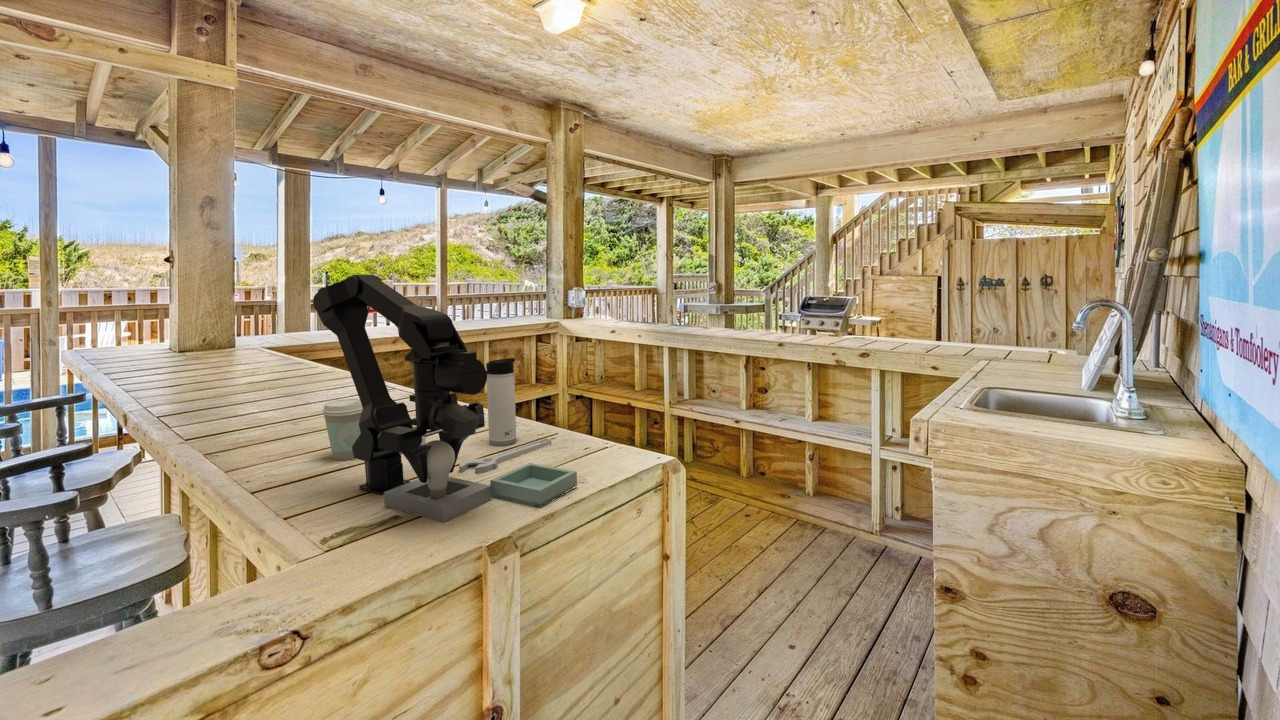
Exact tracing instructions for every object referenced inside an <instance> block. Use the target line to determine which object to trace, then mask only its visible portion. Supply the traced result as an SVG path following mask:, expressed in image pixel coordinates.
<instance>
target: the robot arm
mask: <svg viewBox="0 0 1280 720" xmlns="http://www.w3.org/2000/svg"><path fill="white" fill-rule="evenodd" d="M312 304H313V308H314V310H315V311H316V313H317V315H318V317H319V319H320V322H321V323H322V325H323V326H324V327H326V328H327V329H328V330H329V331H330V332H332V333H333V335H335V336H336V337H337V340H338V342H339V345H340V348H341V351H342V354H343V356H344V357H343V358H344V360H345V363H346V364H347V367H348V370H349V371H348V372H350V375H351V378H352V381H353V384H354V387H355V390H356V393H357V395H358V399H360V401H361V404H362V407H363V409H362V413H361V417H360V421H359V428H360V432H361V434H360V435H359V437H358V438H357V440H356V441H355V443H354V445H353V446H352V451H353V455H354V458H355V460H360V461H363V462H364V472H365V483H363V484H360V485H359V486H358V489H360V490H362V491H368V492H371V493H376V494H379V495H384V492H386V491H388V490H391V489H394V488H396V487H399V486H401V485H404V484H407V483H409V482H411V481H410V480H408V479H404V465H403V464H404V463H403V462H402V455H403V456H404V457H405V458H406V460H407V461H408V463H409V464H410V467H411V468H412V470H413V471H414V473H415V475H416V477H417V478H418V479H419V480H420V482H422V483H426V482H427V453H428V451H429V450H430V448H431V447H432V446H430V445H426V443H427V442H426V438H428V437H431V436H434V435H437V434H438V436H439V440H441V441H444V442H446V443H448V444H449V445H450V446H451V447H452V448H453V450H454V453H455V461H454V464H453V467H452V469H451V471H450V473H453V472H454V471H455V470H454V469H455V466H456V463H457V460H458V457H459V453H460V450H461V447H462V445H463V442H464V441H465V440H466V439H468V438H469V436H472V435H474V434H475V433H476V430H479V429H481V428H485V426H486V424H485V422H486V421H485V410H484V405H483V404H482V403H480V401H479V402H478V401H475V402H472V403H469V404H468V405H467V404H464V405H461V404H459V402H458V396H457V394H464V395H470V396H474V395H475V396H476V395H477V394H479V393H481V392H482V391H483V389H484V388H485V386H486V385H487V369H486V368H485V365H484V364H483V362H482V361H480V360H478V359H477V352H476V351H468V350H467V347H466V345H465V342H464V340H462V338H461V336H460V334H459V333H458V331H457V329H456V327H455V326H454V323H453V320H452V319H451V318H452V317H450V316H449V314H447V313H444V312H442V311H440V310H439V311H438V310H437V309H433V308H429V307H424V306H419V305H418V304H416V303H415V302H413V301H411V300H410V299H408V298H407V297H406V296H404V295H402V294H401V293H400V292H398V291H397V290H396V289H394V288H393V287H391V286H389V285H388V284H387V283H385V282H384V281H382V279H381V278H380V276H378V275H376V274H372V273H371V274H369V273H368V274H352V275H350V276H348V277H346V278H345V279H344V280H340V281H338V282H335V283H331V284H329V285H327V286H322V287H321V288H319V289H318V291H317V292H316V293H315V295H314V296H313V300H312ZM369 307H370V308H371V309H373V310H374V311H375V312H377V313H378V314H380V315H381V316H382V317H384V318H385V319H386V320H388V321H389V322H390V323H392V324H393V325H395V327H396V328H397V333H398V337H399V338H400V339H401V340H402V341H403V342H404V343H405V344H406V345H407V346H408V348H410V349H411V350H410V351H409V352H408V353H407V354H406V355H405V356H404V360H405V361H406V362H412V369H413V388H414V393H413V394H409V396H408V397H409V402H414V405H415V408H414V409H415V417H414V418H411V416H410V413H409V410H408V406H407V405H406V404H405V402H398V403H397V402H396V401H395V400H394V399H392V397H391V396H390V392H389V389H388V387H387V385H386V382H385V378H384V377H383V374H382V371H381V368H380V366H379V363H378V359H377V357H376V354H375V351H374V349H373V346H372V344H371V341H370V338H369V336H368V335H369V334H368V332H367V330H366V324H367V320H368V317H369V313H370V311H369ZM413 426H416V427H413ZM401 453H402V454H401ZM450 473H449V474H450Z"/></svg>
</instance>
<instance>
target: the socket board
mask: <svg viewBox="0 0 1280 720" xmlns="http://www.w3.org/2000/svg"><path fill="white" fill-rule="evenodd" d="M491 500H492V496H491V484H486V483H480V482H477V481H471V480H467V479H462V478H459V477H458V478H457V477H453V476H450V475H449V476H448V481H447V487H446V496H445V497H443V498H441V499H438V500H434V499H431V496H430V489H429V488H428V482H426V483H422V482H420V480H419V478H418V479H415V480H413V481H410V482H409V483H407V484H404V485H401V486H399V487H396V488H394V489H391V490H388V491H386V492H384V494H383V503H384V504H383V507H386V508H388V509H389V508H390V509H392V510H393V509H394V510H396V511H401V512H404V513H409V514H412V515H416V516H420V517H422V518H427V519H431V520H435V521H439V522H442V523H445V522H447V521H449V520H451V519H453V518H455V517H458V516H460V515H462V514H464V513H466V512H468V511H470V510H472V509H474V508H476V507H478V506H480V505H482V504H484V503H485V504H486V503H487V502H488V501H491Z"/></svg>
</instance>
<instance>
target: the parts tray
mask: <svg viewBox="0 0 1280 720" xmlns="http://www.w3.org/2000/svg"><path fill="white" fill-rule="evenodd" d="M489 481H490V482H489V483H490V484H489V485H490V486H491V498H492V497H493V498H497V499H501V500H505V501H510V502H515V503H519V504H522V503H523V504H522V505H527V504H528V506H531V505H533V506H532V507H536V506H539V507H538V508H540V507H541V506H542V507H544V506H546V505H547V504H546V503H548V502H550V501H551V502H553V501H554V500H553V499H555V498H557V497H558V496H560V495H562V494H564V493H565V492H566V491H568V490H570V489H572V488H573V487H575V486H577V487H578V473H577V471H576V470H571V469H564V468H559V467H554V466H550V465H549V466H548V465H543V464H537V463H532V462H528V463H526V464H524V465H521V466H519V467H518V468H514V469H512V470H510V471H508V472H505V473H504V474H503V473H502V474H501V475H499V476H496V477H494V478H493V479H490V480H489ZM564 495H565V494H564ZM562 496H563V495H562ZM560 497H561V496H560ZM557 499H558V498H557ZM552 500H553V501H552ZM555 500H556V499H555ZM551 502H550V503H551ZM545 504H546V505H545ZM548 504H549V503H548ZM543 505H544V506H543ZM542 507H541V508H542Z"/></svg>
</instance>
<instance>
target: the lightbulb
mask: <svg viewBox="0 0 1280 720" xmlns="http://www.w3.org/2000/svg"><path fill="white" fill-rule="evenodd" d="M426 445H430V446H432V447H431V448H430V450H429V451H428V453H427V482H428V488H429V489H430V496H429V497H430V499H434V500H438V499H441V498H443V497H445V496H447V494H446V487H447V481H448V476H449V477H450V471H451V469H452V467H453V464H454V461H455V453H454V450H453V448H452V447H451V446H450V445H449V444H448V443H446V442H444V441H441V440H440V439H438V440H431V441H427V442H426Z"/></svg>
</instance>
